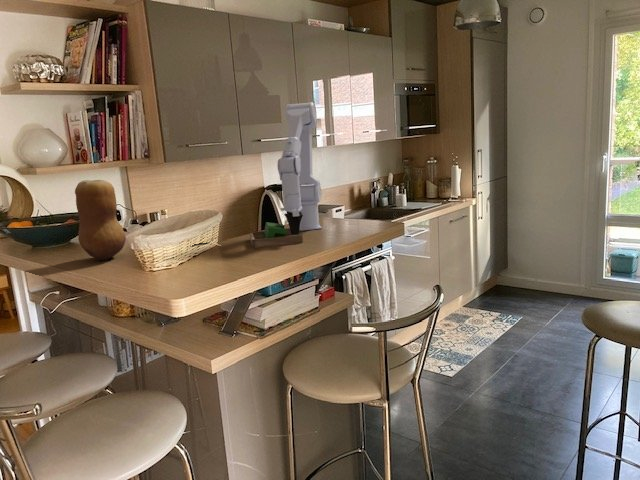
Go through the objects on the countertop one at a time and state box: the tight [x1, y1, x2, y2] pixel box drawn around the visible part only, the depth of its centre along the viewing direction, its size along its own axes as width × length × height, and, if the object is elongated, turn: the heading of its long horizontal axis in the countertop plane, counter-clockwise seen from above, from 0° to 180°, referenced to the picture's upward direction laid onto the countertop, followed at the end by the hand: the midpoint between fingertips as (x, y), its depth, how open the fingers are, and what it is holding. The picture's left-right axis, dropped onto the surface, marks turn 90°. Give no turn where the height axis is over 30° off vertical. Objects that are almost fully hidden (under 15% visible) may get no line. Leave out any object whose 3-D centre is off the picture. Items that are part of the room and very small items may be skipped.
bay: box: [249, 227, 304, 249], centre depth 170 cm, size 14×16×2 cm
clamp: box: [263, 221, 287, 238], centre depth 170 cm, size 12×6×9 cm, turn 5°
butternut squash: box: [74, 179, 126, 261], centre depth 161 cm, size 14×13×25 cm
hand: (295, 234), depth 171 cm, fingers closed
